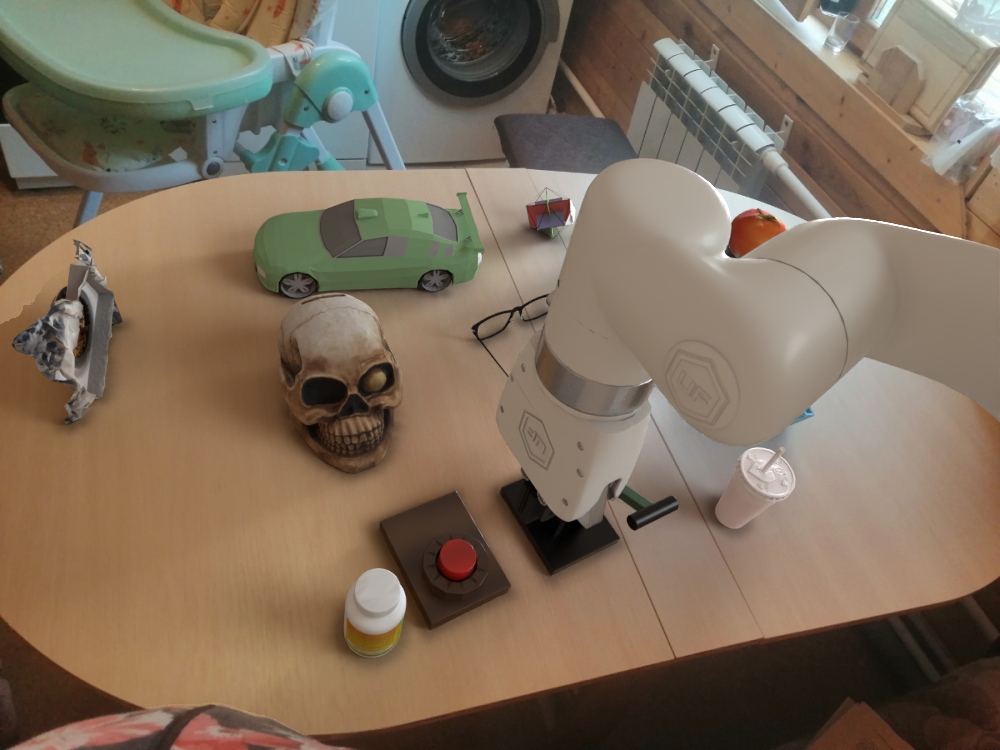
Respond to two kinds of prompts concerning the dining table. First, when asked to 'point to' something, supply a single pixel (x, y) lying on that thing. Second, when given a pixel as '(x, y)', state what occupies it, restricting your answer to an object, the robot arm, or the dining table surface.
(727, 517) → the smoothie
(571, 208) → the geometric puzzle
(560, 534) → the bracket
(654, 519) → the lever
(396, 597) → the supplement bottle
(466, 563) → the button
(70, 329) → the grey textured piece
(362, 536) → the dining table surface
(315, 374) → the coin bank
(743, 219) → the tomato
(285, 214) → the toy car
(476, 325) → the eyeglasses
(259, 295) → the dining table surface
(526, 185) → the dining table surface
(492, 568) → the button block
